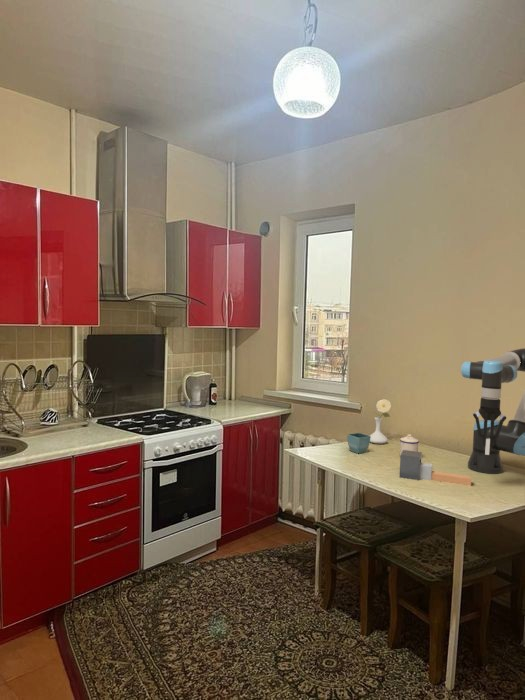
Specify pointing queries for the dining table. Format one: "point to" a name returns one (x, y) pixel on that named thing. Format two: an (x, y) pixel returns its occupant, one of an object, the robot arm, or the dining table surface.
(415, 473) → the block
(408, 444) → the teacup with lid
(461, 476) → the orange bar on cube
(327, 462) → the dining table surface
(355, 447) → the flower pot
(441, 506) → the dining table surface
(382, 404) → the flower in vase
